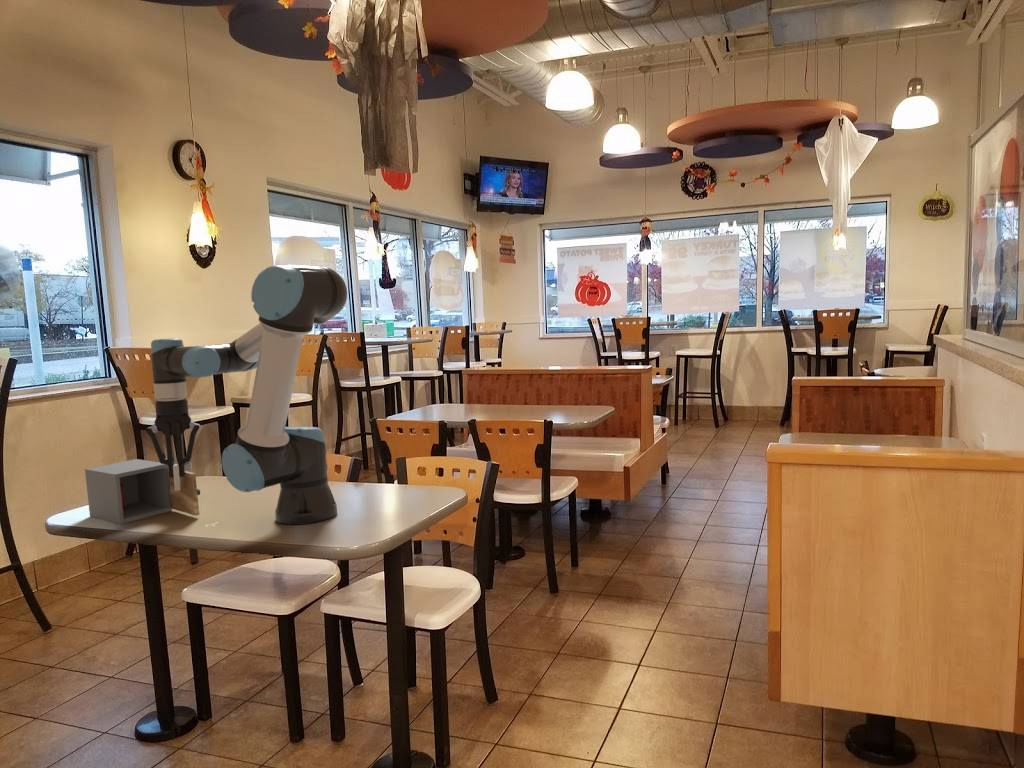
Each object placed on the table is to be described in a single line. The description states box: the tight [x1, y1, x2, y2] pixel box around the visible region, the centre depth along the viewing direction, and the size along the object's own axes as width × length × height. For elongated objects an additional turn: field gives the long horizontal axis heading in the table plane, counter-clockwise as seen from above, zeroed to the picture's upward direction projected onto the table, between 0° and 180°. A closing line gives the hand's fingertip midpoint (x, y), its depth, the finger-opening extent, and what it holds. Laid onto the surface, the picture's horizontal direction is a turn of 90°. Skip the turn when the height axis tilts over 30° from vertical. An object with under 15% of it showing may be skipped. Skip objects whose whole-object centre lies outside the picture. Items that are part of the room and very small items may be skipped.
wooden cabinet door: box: [167, 468, 201, 517], centre depth 194 cm, size 2×14×11 cm, turn 50°
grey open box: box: [84, 458, 173, 525], centre depth 197 cm, size 16×14×13 cm
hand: (178, 489), depth 189 cm, fingers closed
